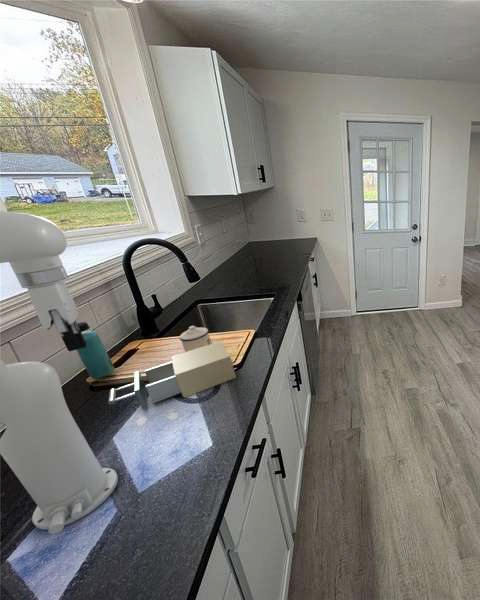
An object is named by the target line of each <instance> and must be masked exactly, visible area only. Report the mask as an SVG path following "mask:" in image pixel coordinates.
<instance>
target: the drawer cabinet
mask: <svg viewBox="0 0 480 600" xmlns="http://www.w3.org/2000/svg"><path fill="white" fill-rule="evenodd" d="M170 359H171V362H172V364H173V369H174V373H175V377H176V379H177V382H178V385H179V387H180V390H181V392H182V393H181V395H182V397H183V398H184V399H185V398H187V397H190V396H192V395H194V394H197V393H200V392H203V391H205V390H208V389H210V388H213V387H216V386H218V385H220V384H224V383H226V382H229V381H231V380H234V379H236V378H237V376H236V375H237V374H236V372H235V369H234V365H233V362H232V358H231V356H230V354H229V352H228V350H227V349H226V347H225V345H224V344H223V342H222V341H221V340H219V341H216V342H213V343H212V344H210V345H207V346H203V347H200V348H197V349H194V350H191V351H188V352H185V351H184V352H182V353H178V354H175V355H172V356H170Z"/></svg>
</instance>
